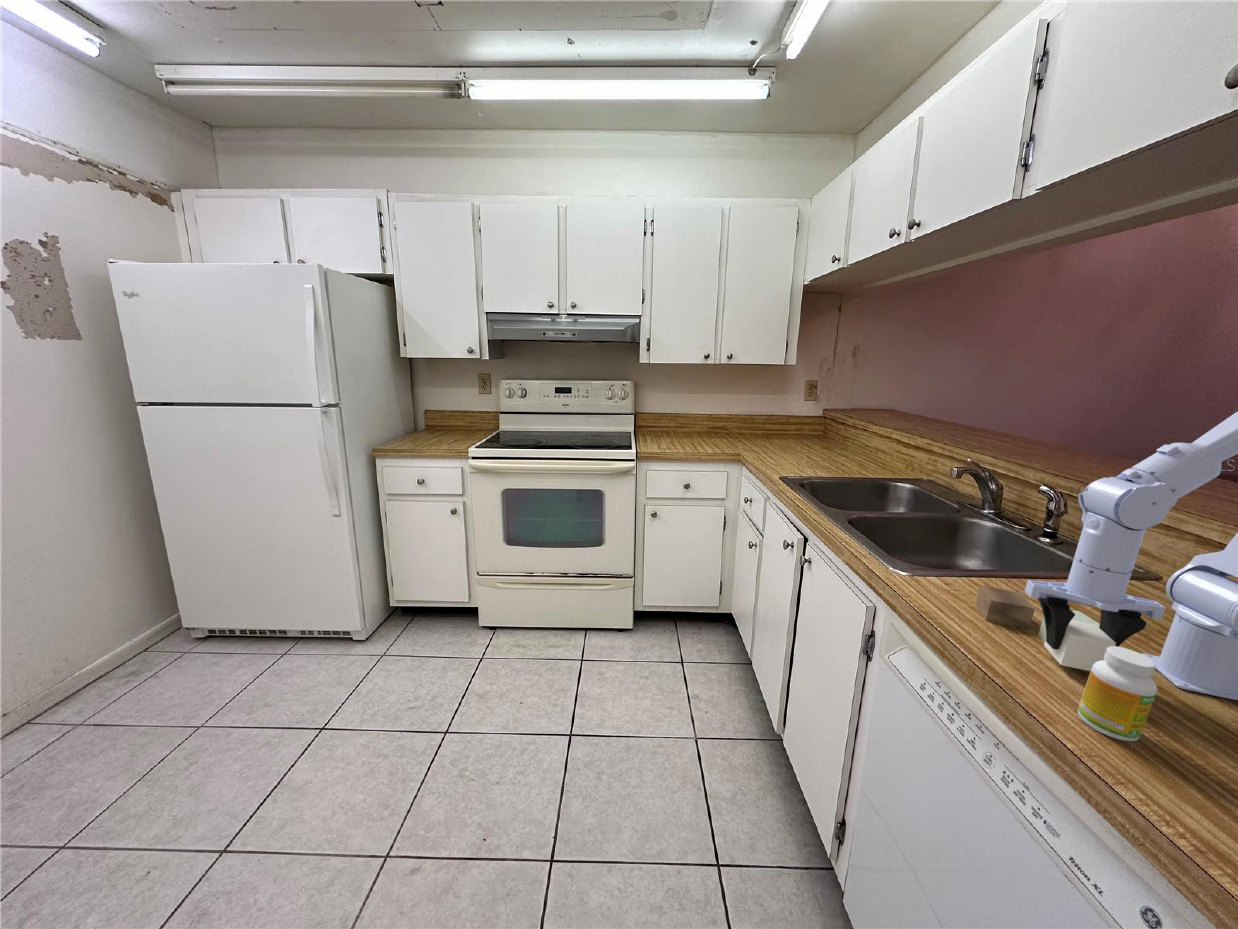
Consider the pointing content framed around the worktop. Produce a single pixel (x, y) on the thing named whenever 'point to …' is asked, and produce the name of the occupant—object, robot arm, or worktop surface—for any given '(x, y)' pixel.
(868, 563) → the worktop surface
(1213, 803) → the worktop surface
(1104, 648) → the cream cube
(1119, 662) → the supplement bottle
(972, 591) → the worktop surface
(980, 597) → the walnut block
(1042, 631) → the sage cube
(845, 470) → the worktop surface
